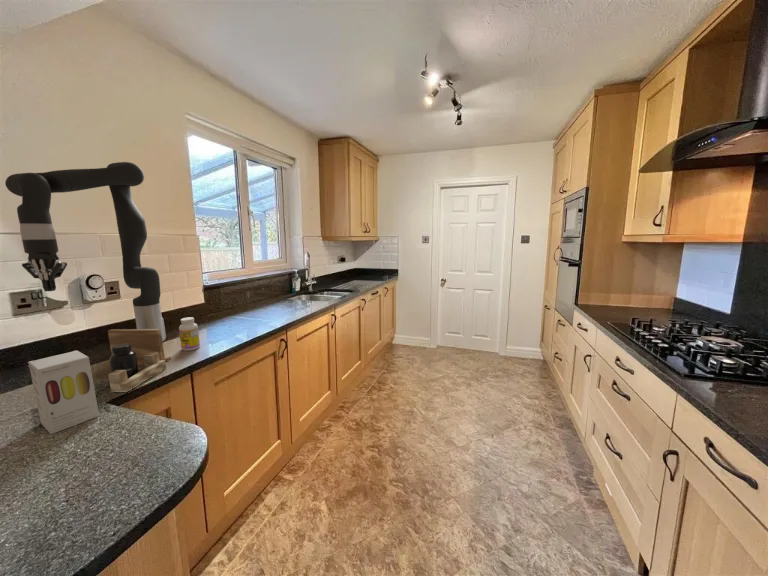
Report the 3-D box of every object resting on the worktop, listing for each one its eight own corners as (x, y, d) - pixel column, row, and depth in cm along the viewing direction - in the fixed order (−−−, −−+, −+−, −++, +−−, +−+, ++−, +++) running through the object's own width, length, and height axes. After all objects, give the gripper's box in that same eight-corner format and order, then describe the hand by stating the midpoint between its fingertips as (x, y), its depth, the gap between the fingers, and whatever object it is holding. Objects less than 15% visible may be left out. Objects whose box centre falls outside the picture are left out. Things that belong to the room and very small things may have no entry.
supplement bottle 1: (124, 386, 99) (118, 350, 97) (107, 384, 100) (101, 348, 98) (145, 376, 105) (139, 342, 103) (128, 374, 107) (122, 341, 105)
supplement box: (49, 435, 75) (35, 370, 72) (39, 423, 80) (25, 361, 77) (101, 415, 83) (89, 355, 80) (88, 405, 88) (77, 349, 85)
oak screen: (124, 359, 120) (118, 326, 117) (171, 358, 120) (166, 326, 117) (113, 364, 115) (107, 330, 112) (161, 364, 115) (156, 330, 112)
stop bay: (152, 368, 111) (149, 352, 110) (166, 368, 111) (163, 352, 110) (111, 392, 95) (108, 374, 94) (127, 392, 95) (124, 374, 94)
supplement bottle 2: (177, 349, 129) (173, 319, 126) (192, 344, 135) (189, 315, 132) (189, 352, 126) (185, 321, 124) (203, 346, 132) (200, 317, 130)
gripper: (71, 237, 104) (80, 288, 107) (31, 238, 104) (42, 289, 107) (47, 238, 97) (58, 293, 100) (4, 238, 97) (17, 293, 100)
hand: (50, 290), depth 104 cm, fingers closed
